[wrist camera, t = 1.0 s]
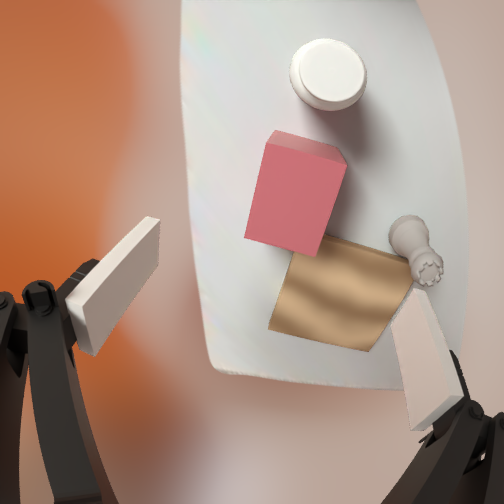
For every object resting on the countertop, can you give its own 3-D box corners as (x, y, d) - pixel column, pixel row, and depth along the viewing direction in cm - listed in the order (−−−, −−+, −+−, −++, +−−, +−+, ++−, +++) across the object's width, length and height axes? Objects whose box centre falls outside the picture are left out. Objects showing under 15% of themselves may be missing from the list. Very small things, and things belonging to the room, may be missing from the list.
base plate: (301, 227, 31) (301, 232, 30) (417, 262, 31) (420, 268, 30) (269, 322, 38) (268, 329, 37) (367, 345, 38) (368, 351, 37)
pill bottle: (347, 48, 21) (369, 29, 13) (356, 104, 24) (382, 112, 16) (287, 54, 23) (279, 35, 14) (297, 109, 25) (294, 118, 17)
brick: (275, 129, 27) (266, 142, 21) (337, 147, 26) (347, 165, 20) (256, 205, 31) (243, 237, 25) (313, 221, 31) (315, 257, 25)
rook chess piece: (432, 231, 28) (460, 272, 22) (403, 257, 31) (424, 303, 24) (409, 204, 28) (436, 241, 21) (379, 233, 30) (397, 276, 23)
